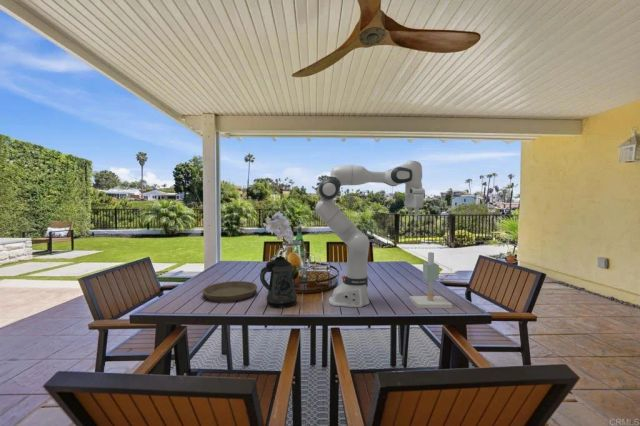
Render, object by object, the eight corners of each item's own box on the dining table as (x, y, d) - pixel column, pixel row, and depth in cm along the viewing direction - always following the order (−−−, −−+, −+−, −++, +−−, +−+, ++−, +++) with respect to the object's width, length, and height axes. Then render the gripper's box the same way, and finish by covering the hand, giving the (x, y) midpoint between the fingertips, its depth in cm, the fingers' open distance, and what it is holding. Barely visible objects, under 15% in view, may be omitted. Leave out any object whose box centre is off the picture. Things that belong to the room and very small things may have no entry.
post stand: (418, 308, 156) (419, 255, 155) (409, 299, 170) (410, 250, 169) (452, 308, 156) (453, 255, 155) (440, 299, 170) (441, 250, 169)
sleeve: (427, 279, 159) (427, 264, 159) (422, 276, 166) (423, 262, 165) (438, 279, 160) (438, 264, 159) (433, 276, 166) (434, 262, 166)
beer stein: (302, 301, 165) (302, 256, 164) (280, 312, 148) (281, 262, 148) (279, 296, 174) (279, 253, 173) (256, 306, 157) (256, 259, 156)
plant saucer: (190, 301, 165) (190, 292, 165) (221, 286, 195) (221, 279, 195) (241, 306, 158) (241, 297, 157) (265, 289, 188) (265, 282, 187)
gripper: (402, 191, 174) (401, 215, 175) (414, 189, 154) (413, 216, 154) (412, 191, 174) (412, 215, 175) (426, 190, 154) (425, 216, 154)
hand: (413, 215), depth 164 cm, fingers open, 8 cm apart
